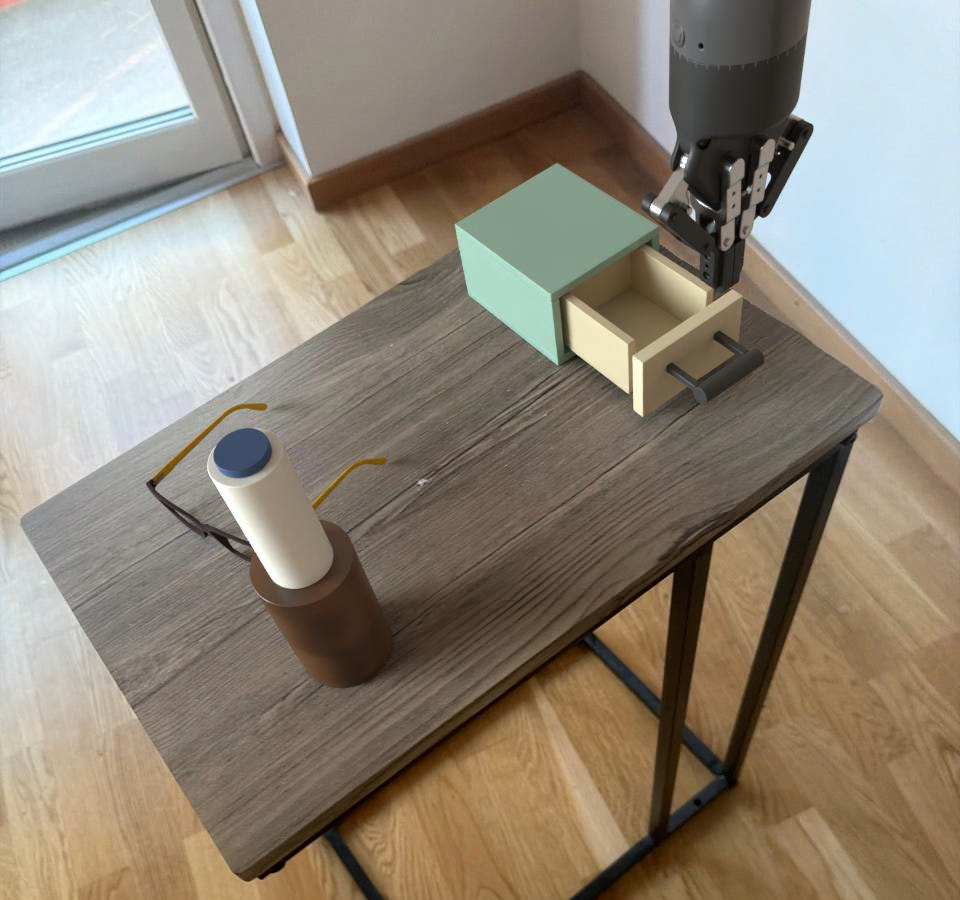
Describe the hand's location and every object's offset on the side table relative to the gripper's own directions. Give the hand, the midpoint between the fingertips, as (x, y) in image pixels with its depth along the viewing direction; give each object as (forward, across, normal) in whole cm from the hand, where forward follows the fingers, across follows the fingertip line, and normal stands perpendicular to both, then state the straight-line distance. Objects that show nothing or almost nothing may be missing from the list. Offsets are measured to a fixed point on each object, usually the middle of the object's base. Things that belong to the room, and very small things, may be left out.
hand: (720, 282), depth 66 cm
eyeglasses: (+12, -32, +18) cm, 39 cm away
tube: (+1, -36, +1) cm, 36 cm away
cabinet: (+12, 0, +19) cm, 23 cm away
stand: (+12, -36, +1) cm, 38 cm away
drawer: (+11, 0, +6) cm, 13 cm away
